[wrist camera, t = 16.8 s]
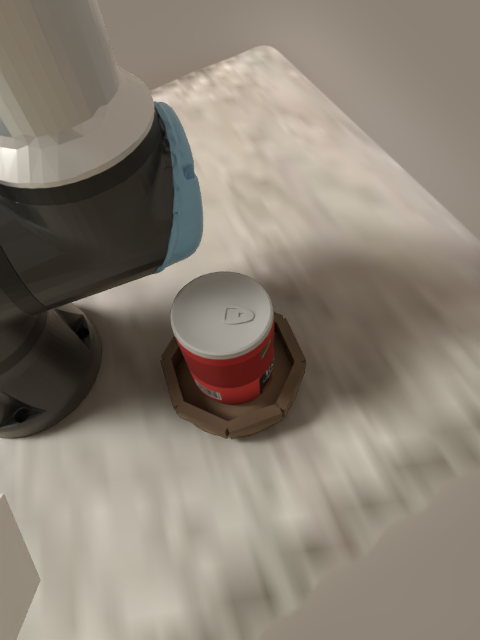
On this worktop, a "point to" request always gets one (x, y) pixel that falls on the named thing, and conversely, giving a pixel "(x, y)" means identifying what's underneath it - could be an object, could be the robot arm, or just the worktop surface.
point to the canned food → (226, 335)
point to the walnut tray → (239, 416)
